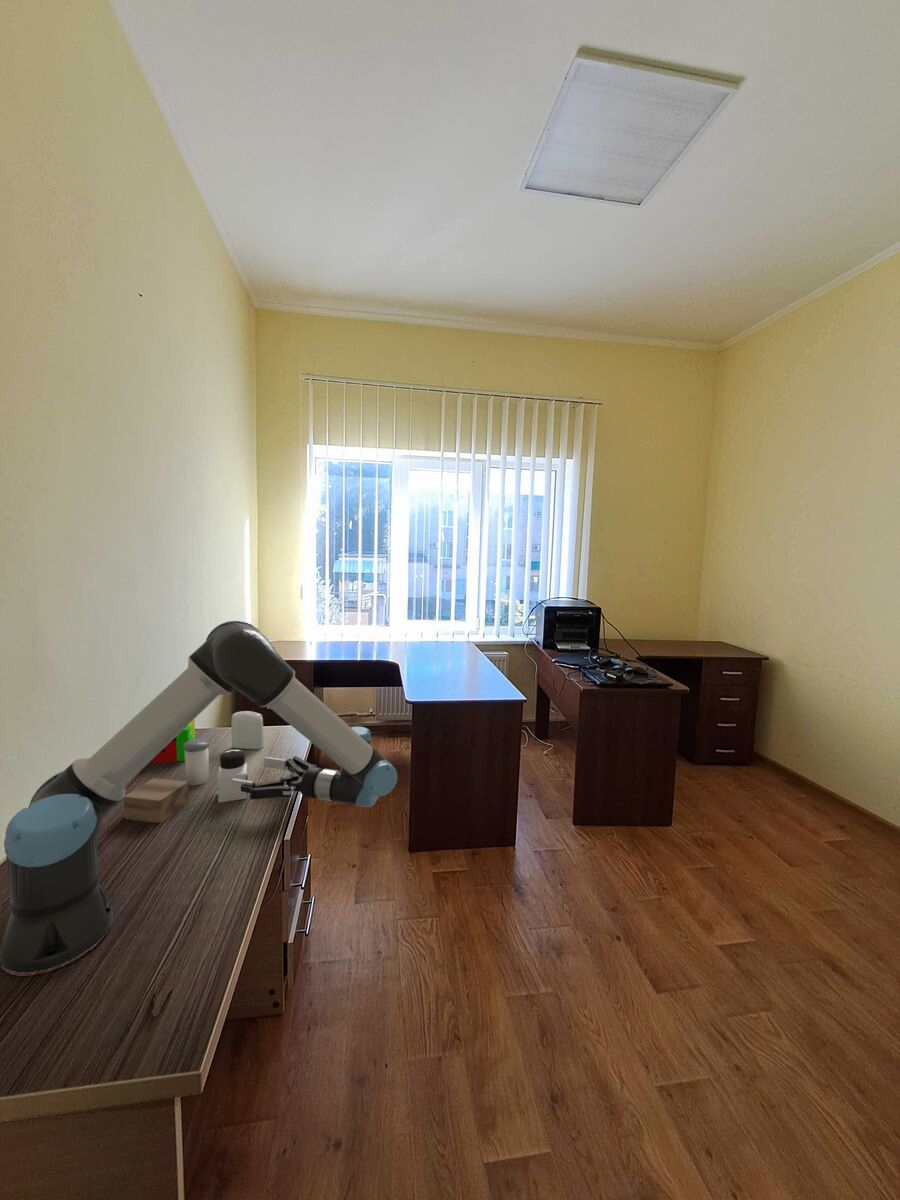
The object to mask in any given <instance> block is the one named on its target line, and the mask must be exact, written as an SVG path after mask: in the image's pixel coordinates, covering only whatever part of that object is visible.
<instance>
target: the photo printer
mask: <svg viewBox="0 0 900 1200" xmlns="http://www.w3.org/2000/svg"><path fill="white" fill-rule="evenodd" d="M230 722H231V728H230V729H231V746H232V748H233V749H239V750H240V749H241V750H243V749H244V750H261V749H262V748H263V747H264V718H263V715H262V714H261V713H258V712H255V711H251V710H244V711H242V710H241V711H237V712H235V713H233V714H232V716H231V721H230Z"/></svg>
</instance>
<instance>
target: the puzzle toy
mask: <svg viewBox="0 0 900 1200" xmlns="http://www.w3.org/2000/svg"><path fill="white" fill-rule="evenodd" d="M195 729H196V728H195V719H194V720H193V721H192V722H191V723H190V724H189V725H188V726H186V727H185V728H184V729H183V730H182V731H181V732H180V733H179V734H178V735H177V736H176V737H175V738H174V739H173V740H172V741H171V742H170V743H169V744H168V745H167V746H166V747H165V748H164V749H163V750H162V751H160V752H159V753H158V754H157V755H156V756H155V757H154V758H153V759H152V764H160V763H161V764H162V763H173V762H183V761H184V762H185V750H184V743H186V742H187V741H190V740H193V739H196V731H195Z"/></svg>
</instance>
